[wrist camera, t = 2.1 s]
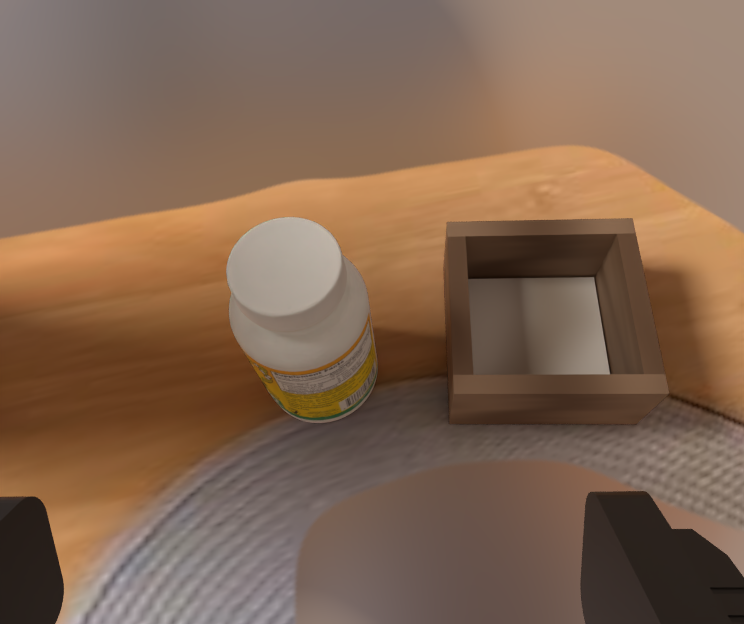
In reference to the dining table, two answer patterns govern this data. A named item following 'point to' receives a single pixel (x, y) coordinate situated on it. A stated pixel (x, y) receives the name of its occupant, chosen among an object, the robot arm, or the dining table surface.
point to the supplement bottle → (302, 318)
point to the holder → (549, 323)
